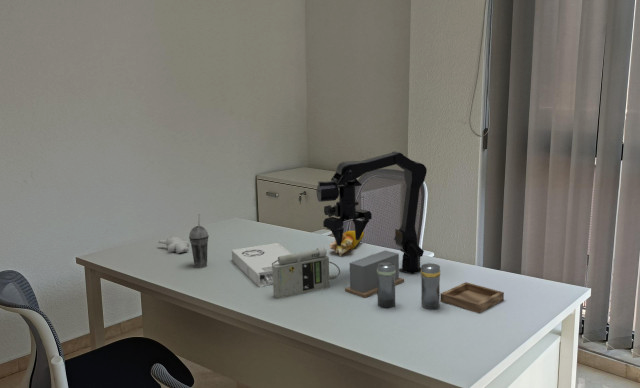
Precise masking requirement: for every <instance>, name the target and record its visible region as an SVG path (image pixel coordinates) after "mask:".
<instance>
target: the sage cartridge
mask: <svg viewBox="0 0 640 388" xmlns="http://www.w3.org/2000/svg"><path fill="white" fill-rule="evenodd" d="M395 274H396V269H395V264H393V263H387V262H385V263H379V264H378V265H377V290H378V293H377V306H378V308H382V309H392V308H394V307H395V306H396V285H395Z"/></svg>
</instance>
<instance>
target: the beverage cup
mask: <svg viewBox="0 0 640 388" xmlns="http://www.w3.org/2000/svg"><path fill="white" fill-rule="evenodd" d="M197 216H198V218H197V220H198V221H197V222H198V225H197V226H193V227H192V228H191V230H190V232H189V235H188V236H189V237H188V239H189V244H190V246H191V251H192V259H193V263H194V267H195V268H196V269H203V268H206V267H208V246H209V245H208V242H209V233H208V230H207V229H206V228H205V227H203V225H202V226H201V225H200V223H201V218H200V217H201V214H198V215H197Z"/></svg>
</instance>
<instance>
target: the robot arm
mask: <svg viewBox="0 0 640 388" xmlns="http://www.w3.org/2000/svg"><path fill="white" fill-rule="evenodd" d="M395 165H396V166H398V167H399V168H401V169H402V170H403V174H404V181H405V185H406V188H405V189H406V190H405V196H404V205H403V212H402V223H401V225H400V228H399V229H397V228H396V229H395V230H394V231H395V232H394V233H395V234H394V235H395V236H394V238H393V240H394V243H395V245H396V246H397V247H398V248H399V250H400V252H401V253H403V254H402V259H401V260H402V261H401V266H402V267H401V268H400V267H399V272H400V271H401V272H404V273H406V274H407V273H408V274H411V275H415V274H416V273H421V270H422V267H421V258H422V257H423V254H424V253H425V251H424V250H423V249H422V248H421V247H420V246H419V245H418V234H417V230H416V222H417V213H418V207H419V206H418V205H419V198H420V192H421V191H420V190H421V189H420V188H421V187H422V185H423V183H425V179H426V176H427V172H428V170H427V166H425V164H424V163H421V162H419V161H415V160H412V159H410V158H409V157H407V156H405V155H404V154H403V153H402V152H399V151H395V150H394V151H392V152H389V153H386V154H382V155H377V156H375V157H371V158H367V159H363V160H350V161H349V160H348V161H342V162H340V163H339V164H337V167H336V172H335V173H334V174H333V176H332V178H331V179H330V180H329V181H328V180H327V181H320V180H319V181H318V182H317V183H318V184H317V187H316V191H315V193H316V197H317V198H316V199H317V201H318V202H319V203H323V202H332V201H333V202H334V201H336V200H337V199H338V201H336V203H335V206H332V205H325V206H323V213H324V215H325V216H328V217H327V218H324V220H323V223H322V225H323V226H322V227H324V228H326V229H327V230H330V231H331V233H332V235H333V237H334V241H335V240H336V243H337V245H338V246H341V243H342V237H343V233H344V230H345V228H344V223H348V222H351V221H352V223H353V224H354V231H355V236H356V240H359V239H360V237H361V235H362V232H364V230H365V228H366V227H367V225H368V223H369V222H370V220H372V218H373V217H372V216H373V214H372V212H371V211H370V210H366V209H361V208H360V209H357V206H359V201H357V194H356V193H357V191H356V190H357V187H361V186H362V183H361V182H360V181H359V180H358V178H360V177H362V176H363V175H364V174H366V173H369V172H373V171H376V170H380V169H384V168H387V167H391V166H395Z"/></svg>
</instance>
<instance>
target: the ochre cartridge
mask: <svg viewBox="0 0 640 388" xmlns="http://www.w3.org/2000/svg"><path fill="white" fill-rule="evenodd" d="M421 268H422V270H421V271H420V276H421V298H420V299H421V302H420V303H421V308H422V309H424V310H427V311H429V310H432V311H433V310H437V309H440V294H441V293H440V292H441V291H440V287H441V286H440V281H441V269H440V268H441V266H440V265H439V264H437V263H431V262H429V263H424V264H422V265H421Z"/></svg>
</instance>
